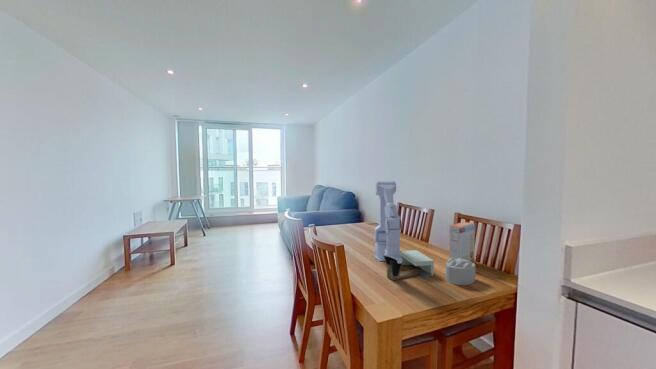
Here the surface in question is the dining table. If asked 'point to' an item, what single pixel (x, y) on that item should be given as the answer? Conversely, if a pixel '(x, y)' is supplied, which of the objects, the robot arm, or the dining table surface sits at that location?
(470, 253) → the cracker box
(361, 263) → the dining table surface
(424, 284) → the dining table surface
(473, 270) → the lumpy-topped squat cylinder
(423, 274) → the grey square block
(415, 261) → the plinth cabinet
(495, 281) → the dining table surface
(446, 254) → the dining table surface
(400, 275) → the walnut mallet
